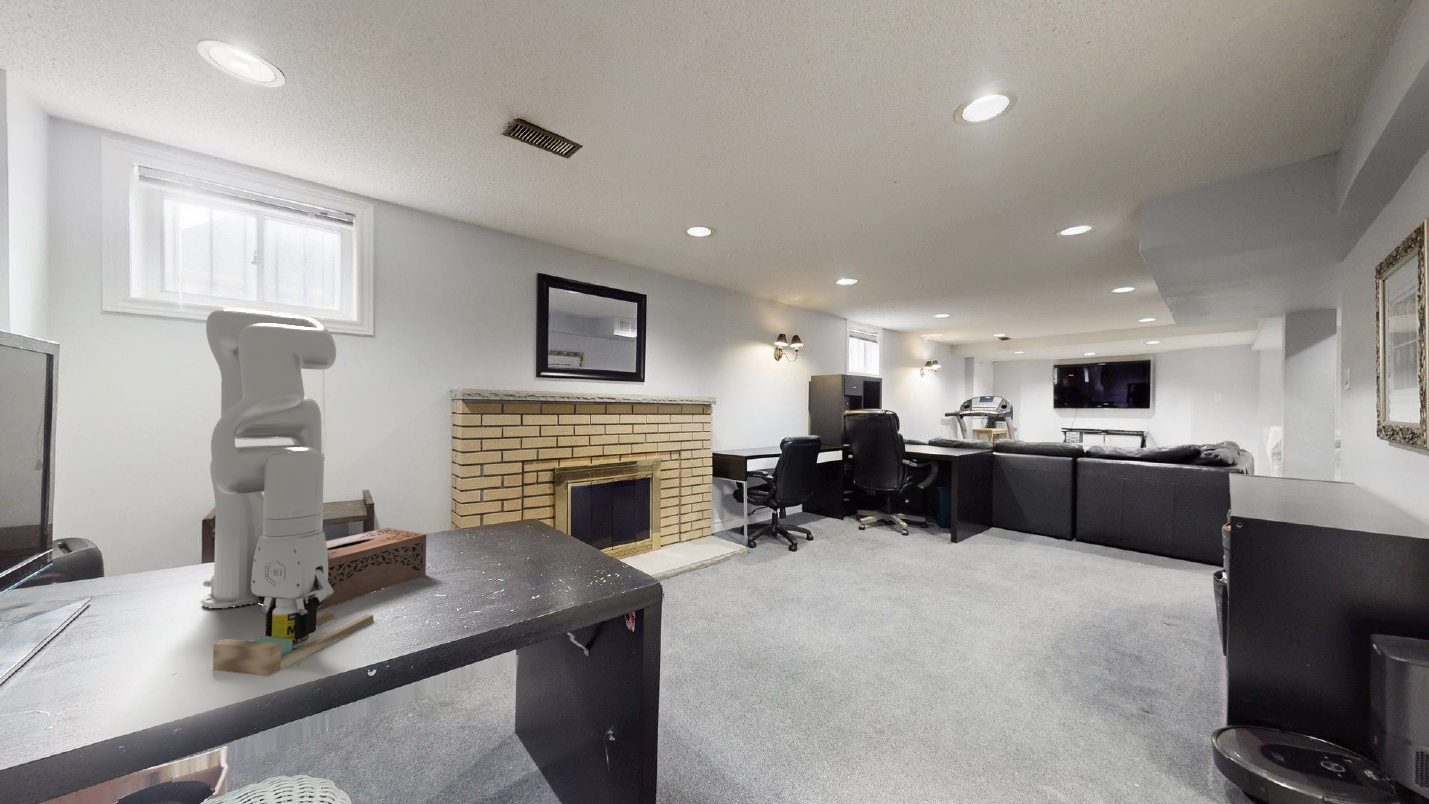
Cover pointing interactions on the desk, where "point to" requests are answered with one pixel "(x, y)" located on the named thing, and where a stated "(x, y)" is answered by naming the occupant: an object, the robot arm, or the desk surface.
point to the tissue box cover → (372, 562)
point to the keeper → (285, 643)
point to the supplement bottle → (286, 621)
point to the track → (275, 649)
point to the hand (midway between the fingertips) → (291, 632)
